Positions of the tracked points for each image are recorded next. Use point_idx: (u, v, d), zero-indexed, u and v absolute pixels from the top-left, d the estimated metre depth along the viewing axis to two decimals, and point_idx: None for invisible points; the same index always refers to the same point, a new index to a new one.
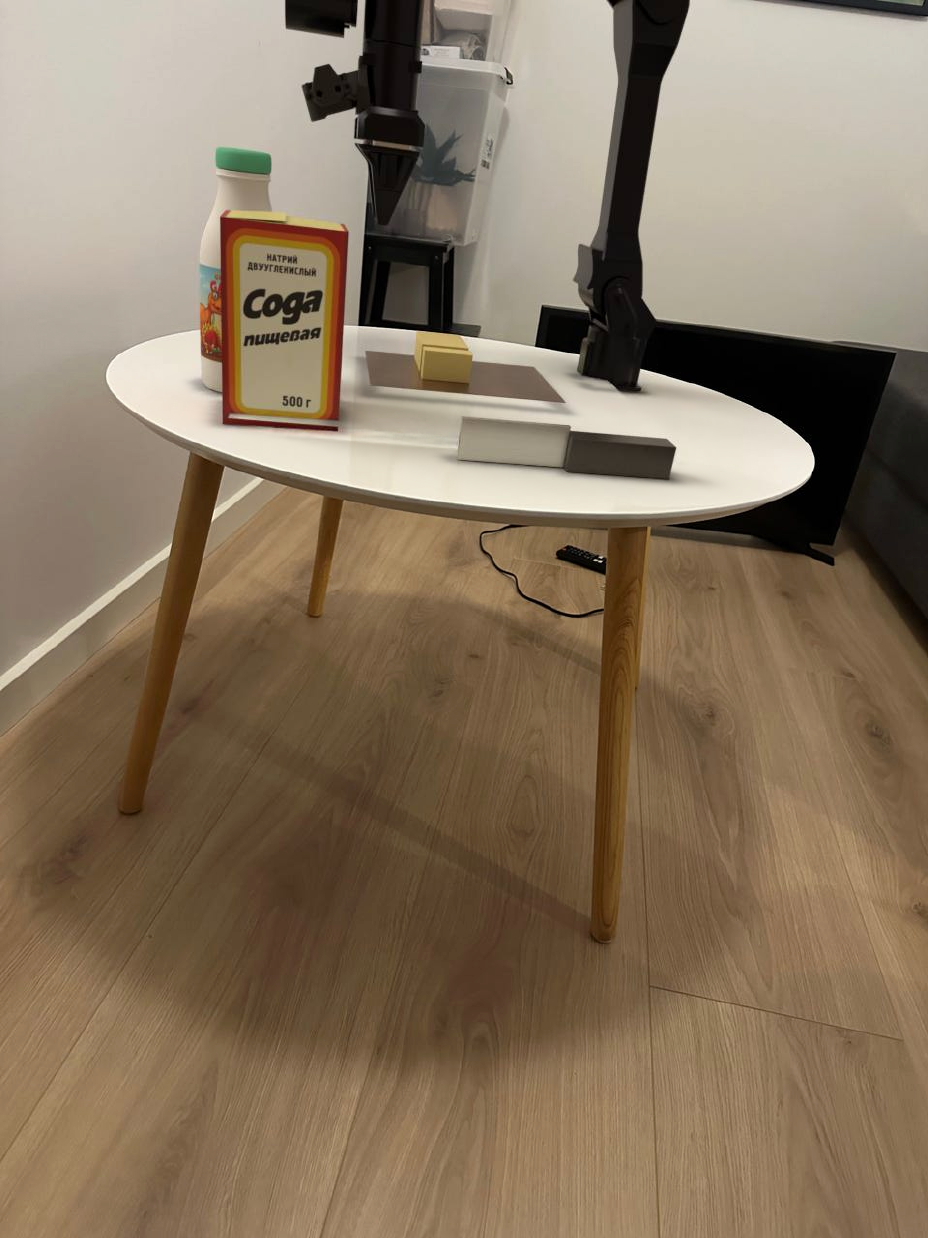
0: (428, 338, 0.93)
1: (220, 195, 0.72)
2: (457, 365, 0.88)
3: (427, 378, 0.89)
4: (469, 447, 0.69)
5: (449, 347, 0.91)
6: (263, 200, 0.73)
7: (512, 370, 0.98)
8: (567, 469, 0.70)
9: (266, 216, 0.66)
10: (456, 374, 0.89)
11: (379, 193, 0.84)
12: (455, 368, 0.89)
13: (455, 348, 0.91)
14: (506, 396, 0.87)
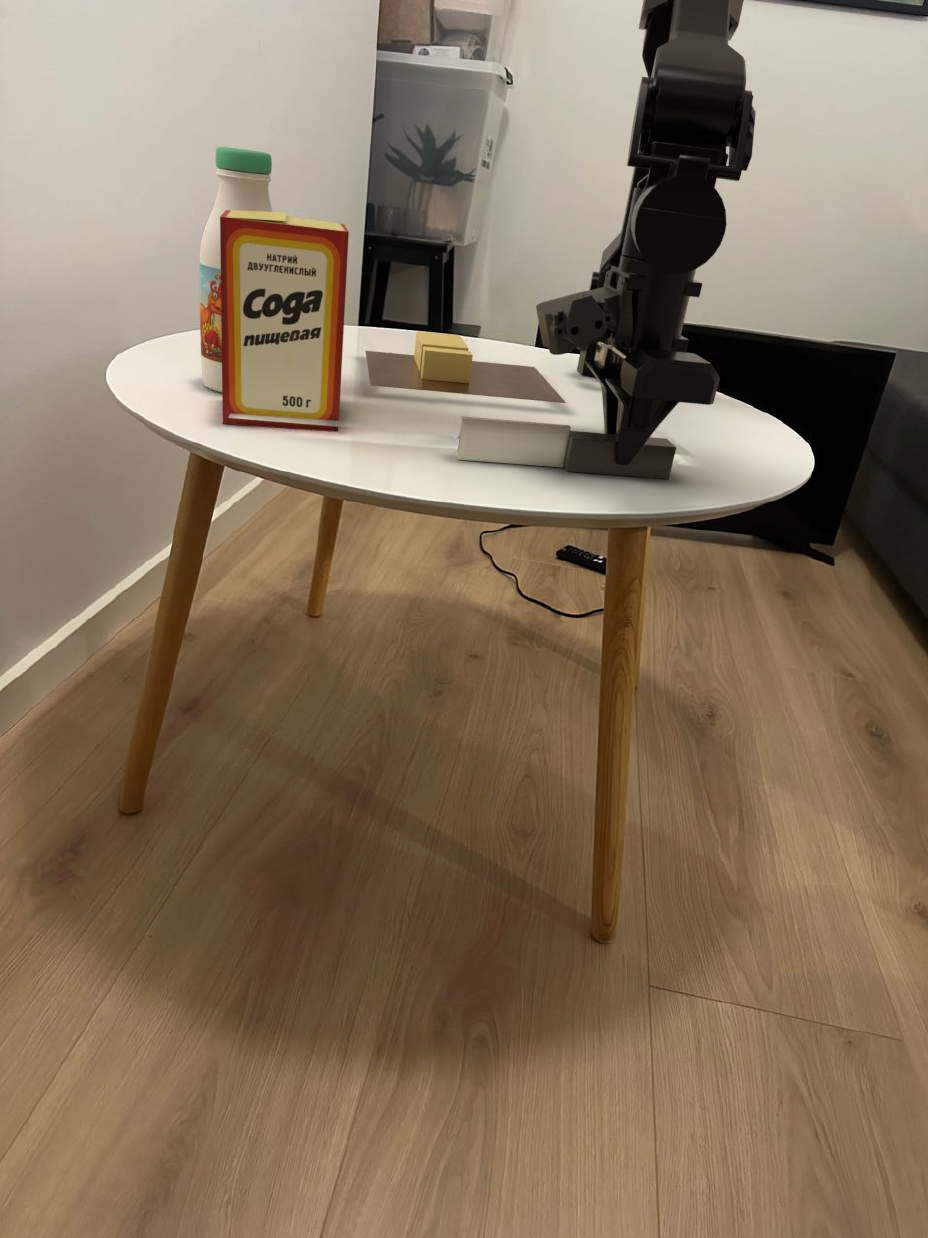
0: (428, 338, 0.93)
1: (220, 195, 0.72)
2: (457, 365, 0.88)
3: (427, 378, 0.89)
4: (469, 447, 0.69)
5: (449, 347, 0.91)
6: (263, 200, 0.73)
7: (512, 370, 0.98)
8: (567, 469, 0.70)
9: (266, 216, 0.66)
10: (456, 374, 0.89)
11: (626, 434, 0.68)
12: (455, 368, 0.89)
13: (455, 348, 0.91)
14: (506, 396, 0.87)
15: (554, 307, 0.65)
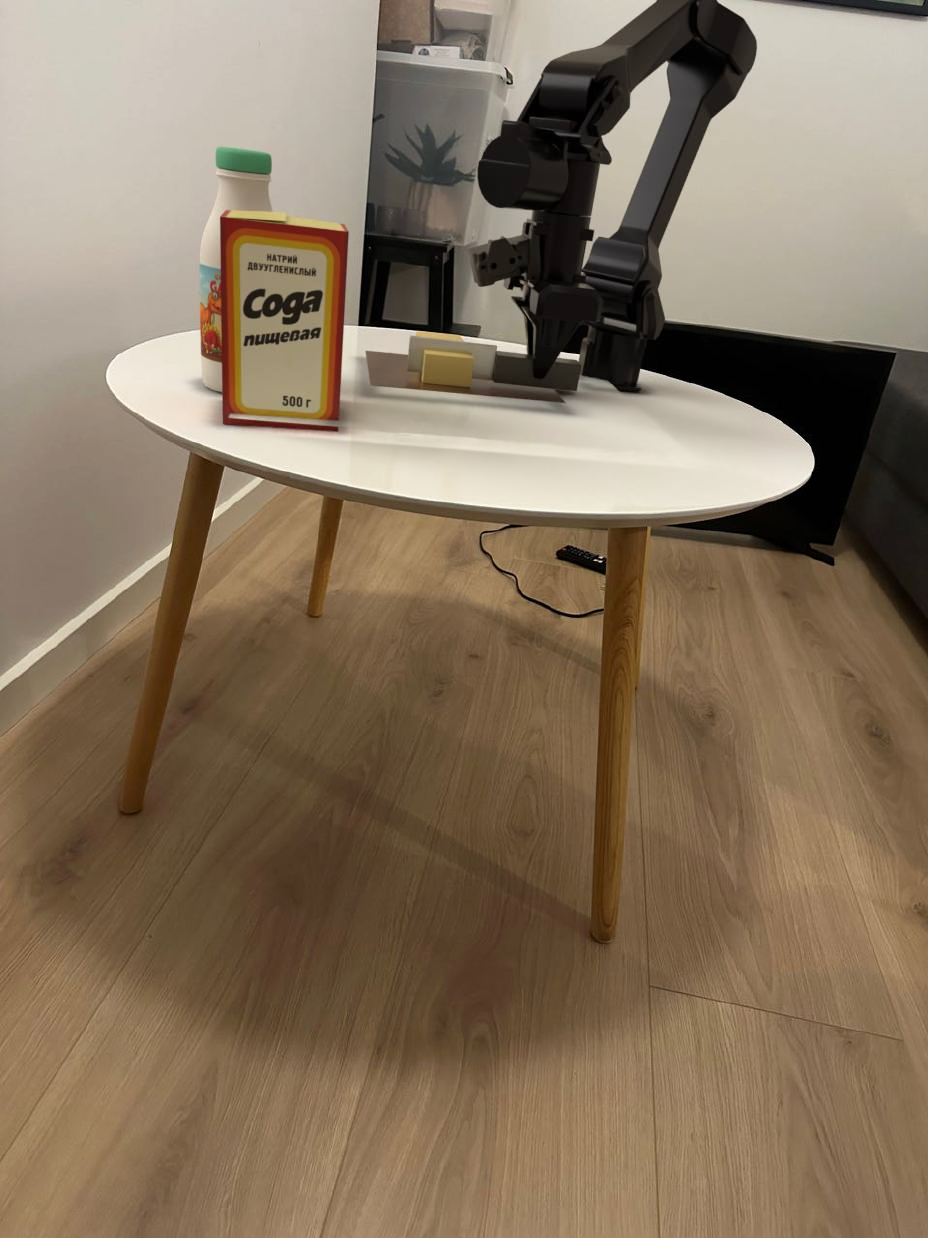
0: None
1: (220, 195, 0.72)
2: (458, 369, 0.87)
3: (428, 382, 0.87)
4: (416, 361, 0.88)
5: None
6: (263, 200, 0.73)
7: None
8: (494, 380, 0.89)
9: (266, 216, 0.66)
10: (457, 378, 0.87)
11: (540, 352, 0.87)
12: (456, 372, 0.87)
13: None
14: (506, 396, 0.87)
15: (480, 249, 0.83)
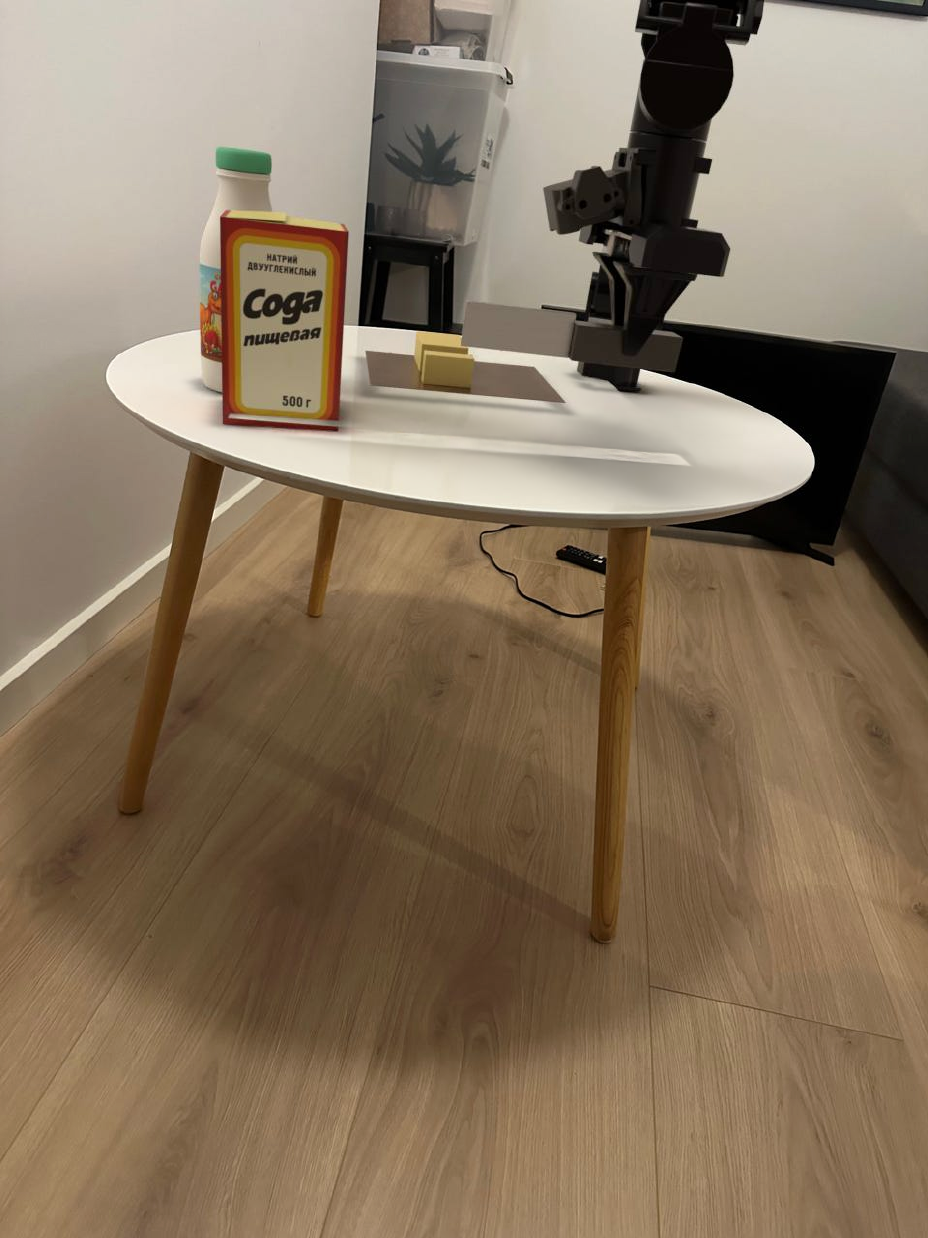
0: (428, 338, 0.93)
1: (220, 195, 0.72)
2: (458, 369, 0.87)
3: (428, 382, 0.87)
4: (473, 333, 0.68)
5: (449, 347, 0.91)
6: (263, 200, 0.73)
7: (512, 370, 0.98)
8: (572, 358, 0.69)
9: (266, 216, 0.66)
10: (457, 379, 0.87)
11: (634, 321, 0.67)
12: (456, 373, 0.87)
13: (455, 348, 0.91)
14: (506, 396, 0.87)
15: (562, 185, 0.64)
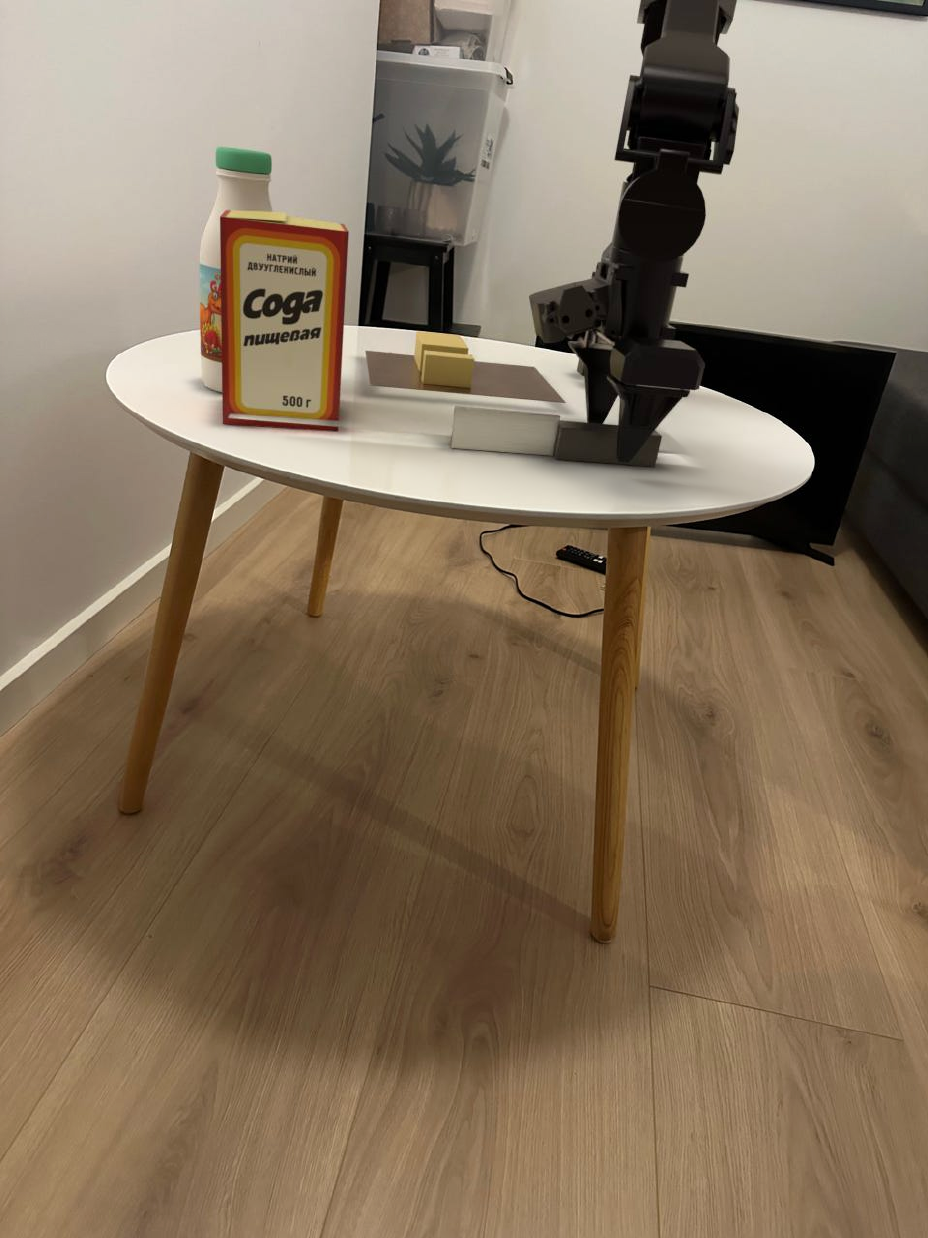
0: (428, 338, 0.93)
1: (220, 195, 0.72)
2: (458, 369, 0.87)
3: (428, 382, 0.87)
4: (462, 436, 0.72)
5: (449, 347, 0.91)
6: (263, 200, 0.73)
7: (512, 370, 0.98)
8: (557, 457, 0.73)
9: (266, 216, 0.66)
10: (457, 379, 0.87)
11: (627, 431, 0.68)
12: (456, 373, 0.87)
13: (455, 348, 0.91)
14: (506, 396, 0.87)
15: (546, 297, 0.67)
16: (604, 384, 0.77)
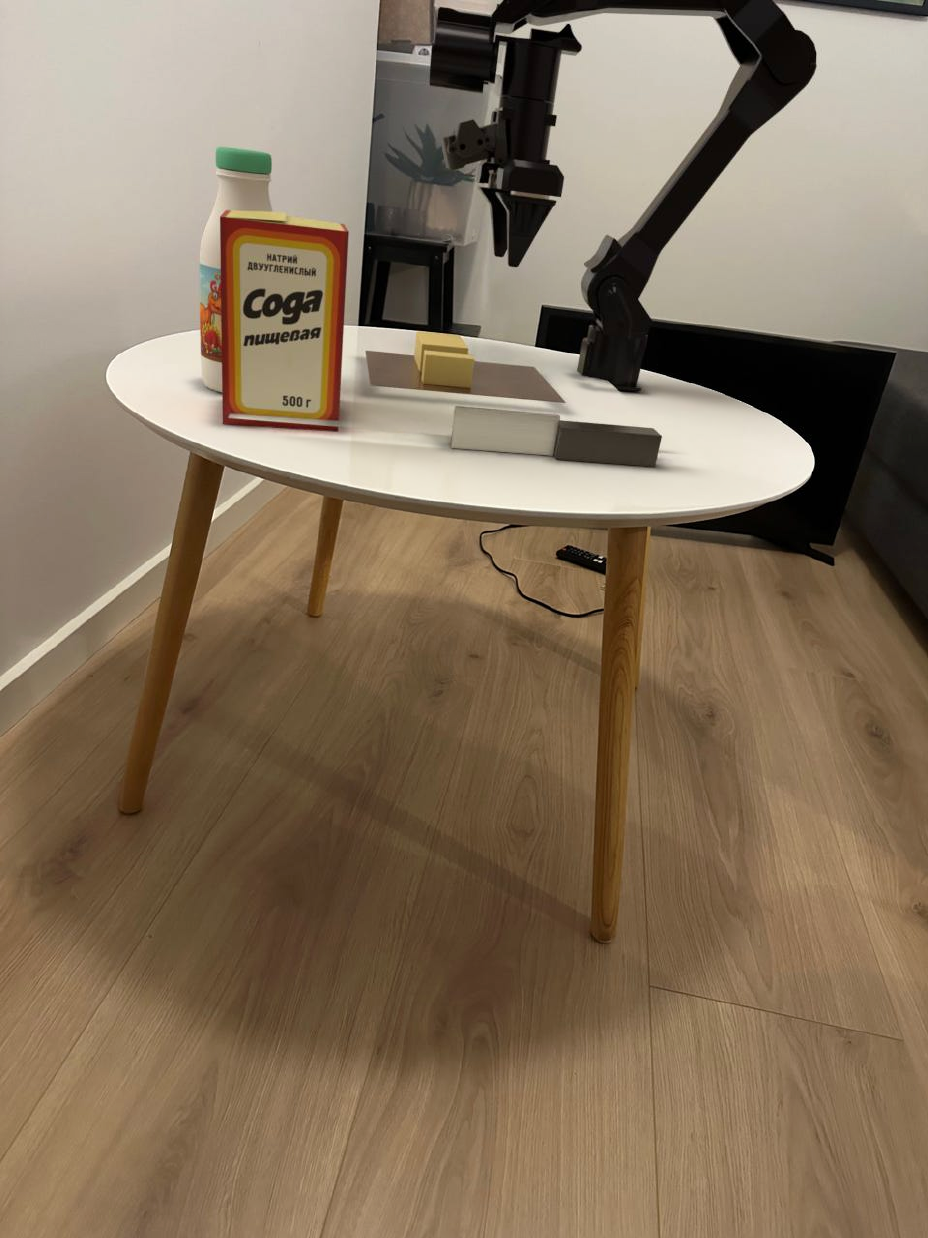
0: (428, 338, 0.93)
1: (220, 195, 0.72)
2: (458, 369, 0.87)
3: (428, 382, 0.87)
4: (462, 436, 0.72)
5: (449, 347, 0.91)
6: (263, 200, 0.73)
7: (512, 370, 0.98)
8: (557, 457, 0.73)
9: (266, 216, 0.66)
10: (457, 379, 0.87)
11: (513, 238, 0.90)
12: (456, 373, 0.87)
13: (455, 348, 0.91)
14: (506, 396, 0.87)
15: (451, 135, 0.89)
16: (505, 218, 0.98)
